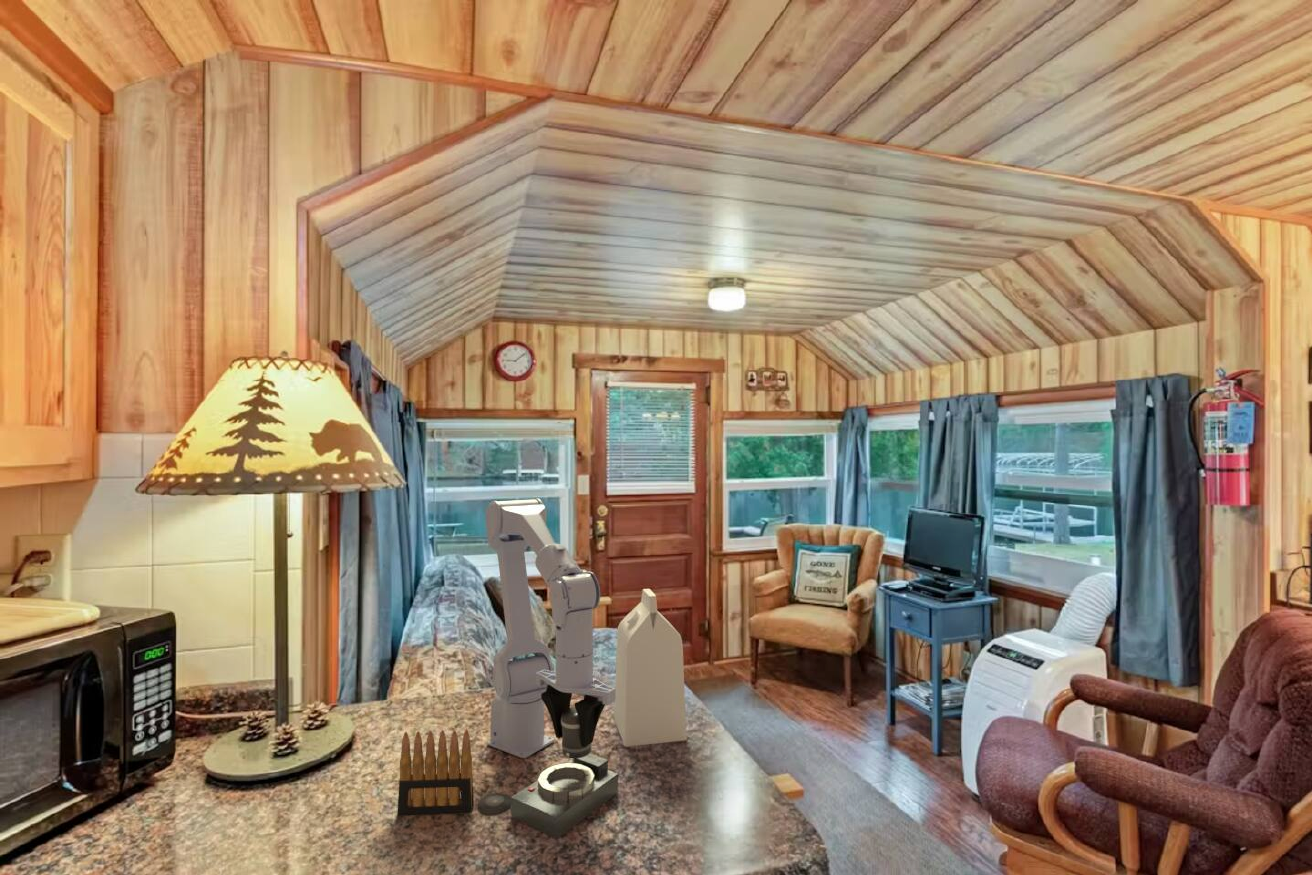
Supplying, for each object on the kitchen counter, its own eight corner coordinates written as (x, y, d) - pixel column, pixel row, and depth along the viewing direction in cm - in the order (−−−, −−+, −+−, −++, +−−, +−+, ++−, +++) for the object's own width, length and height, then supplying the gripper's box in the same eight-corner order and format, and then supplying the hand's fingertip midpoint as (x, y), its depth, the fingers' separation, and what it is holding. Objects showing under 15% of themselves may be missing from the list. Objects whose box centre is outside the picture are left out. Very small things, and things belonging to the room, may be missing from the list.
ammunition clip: (474, 805, 98) (474, 726, 98) (471, 813, 96) (471, 732, 96) (401, 808, 97) (401, 728, 97) (397, 816, 96) (397, 734, 95)
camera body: (511, 817, 95) (511, 786, 95) (574, 775, 107) (574, 747, 107) (556, 838, 90) (557, 805, 90) (618, 792, 102) (618, 763, 102)
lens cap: (470, 809, 98) (470, 802, 98) (495, 794, 102) (495, 788, 102) (493, 820, 95) (493, 813, 95) (518, 804, 99) (518, 798, 99)
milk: (686, 740, 120) (687, 598, 119) (624, 746, 117) (625, 602, 117) (670, 712, 131) (670, 583, 131) (613, 718, 129) (614, 586, 128)
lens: (555, 753, 101) (554, 716, 101) (574, 740, 105) (573, 703, 104) (579, 761, 99) (578, 723, 98) (597, 747, 103) (596, 710, 102)
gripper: (627, 653, 100) (627, 741, 100) (556, 637, 108) (556, 718, 108) (599, 667, 95) (599, 760, 95) (526, 648, 102) (526, 735, 102)
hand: (574, 739), depth 101 cm, fingers closed on lens, 4 cm apart
